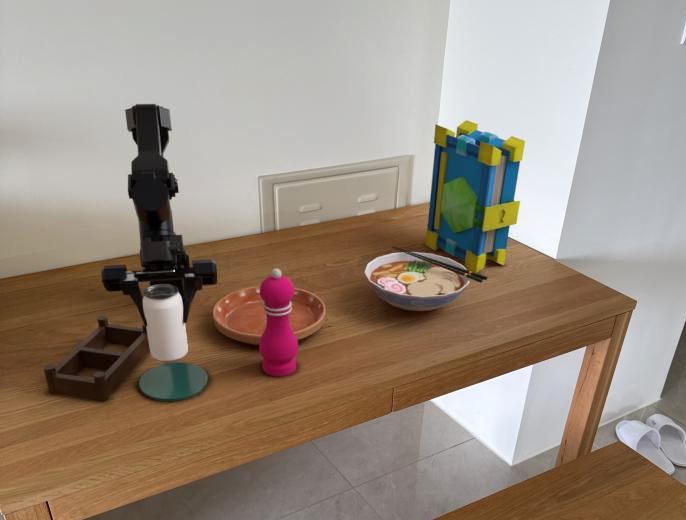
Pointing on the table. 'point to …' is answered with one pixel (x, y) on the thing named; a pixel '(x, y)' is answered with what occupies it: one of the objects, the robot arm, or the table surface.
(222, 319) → the saucer
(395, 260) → the ramen bowl
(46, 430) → the table surface
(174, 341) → the can
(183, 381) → the coaster
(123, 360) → the rack
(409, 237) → the table surface
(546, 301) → the table surface
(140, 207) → the robot arm
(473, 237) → the decorative book
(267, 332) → the pepper mill
